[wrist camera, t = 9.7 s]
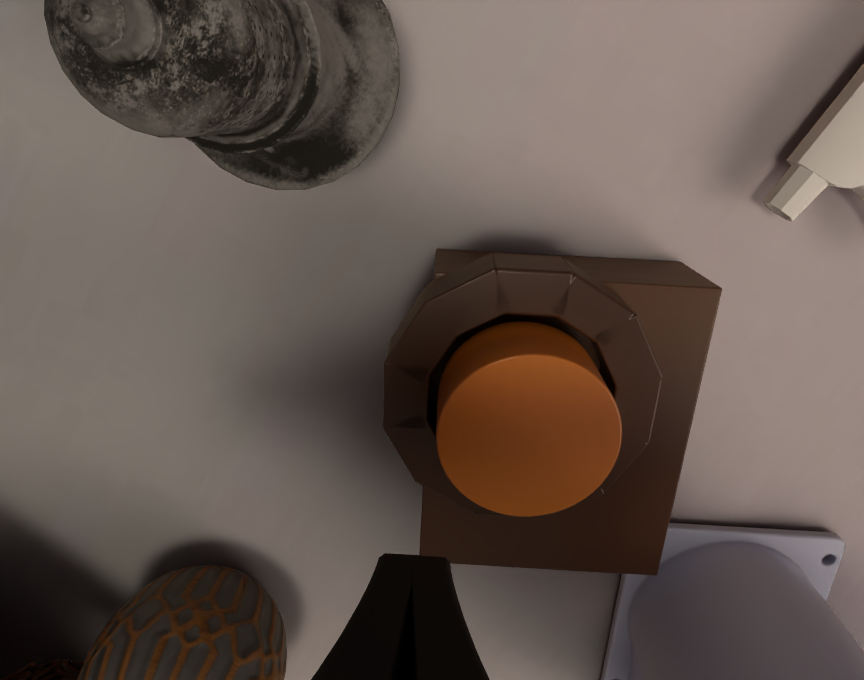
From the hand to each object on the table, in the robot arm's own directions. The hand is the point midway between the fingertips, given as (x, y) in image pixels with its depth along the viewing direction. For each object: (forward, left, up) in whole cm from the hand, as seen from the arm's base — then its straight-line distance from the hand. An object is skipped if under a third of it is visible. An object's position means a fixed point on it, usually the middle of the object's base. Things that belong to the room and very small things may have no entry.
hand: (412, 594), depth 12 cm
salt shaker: (+10, +4, -10) cm, 15 cm away
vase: (-10, +8, -10) cm, 17 cm away
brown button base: (0, -4, -10) cm, 11 cm away
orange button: (+2, -2, -5) cm, 6 cm away
